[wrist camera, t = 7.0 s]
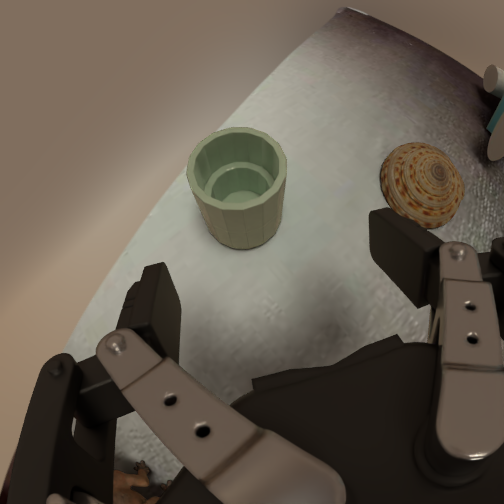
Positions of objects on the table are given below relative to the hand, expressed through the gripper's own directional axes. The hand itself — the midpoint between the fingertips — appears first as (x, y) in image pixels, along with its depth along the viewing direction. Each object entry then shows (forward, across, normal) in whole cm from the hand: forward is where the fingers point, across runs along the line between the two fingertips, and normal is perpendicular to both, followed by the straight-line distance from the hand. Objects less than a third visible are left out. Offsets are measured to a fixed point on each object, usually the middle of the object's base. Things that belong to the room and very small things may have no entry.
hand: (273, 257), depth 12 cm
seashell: (+13, -16, +4) cm, 21 cm away
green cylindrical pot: (+13, 0, +3) cm, 14 cm away
